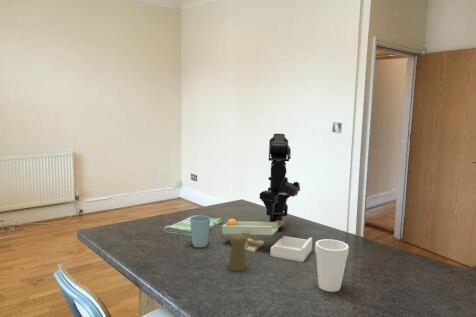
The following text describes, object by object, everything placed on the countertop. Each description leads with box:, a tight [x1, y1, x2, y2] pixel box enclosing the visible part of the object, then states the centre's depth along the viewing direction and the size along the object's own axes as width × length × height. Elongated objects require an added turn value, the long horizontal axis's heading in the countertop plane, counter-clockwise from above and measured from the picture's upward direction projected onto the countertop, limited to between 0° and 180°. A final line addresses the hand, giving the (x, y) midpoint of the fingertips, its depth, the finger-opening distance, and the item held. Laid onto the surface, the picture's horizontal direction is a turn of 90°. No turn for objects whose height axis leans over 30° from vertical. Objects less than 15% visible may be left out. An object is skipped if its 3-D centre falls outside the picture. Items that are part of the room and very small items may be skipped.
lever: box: [221, 219, 285, 236], centre depth 149 cm, size 16×20×3 cm
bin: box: [269, 235, 313, 263], centre depth 138 cm, size 12×12×5 cm
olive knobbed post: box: [227, 234, 247, 272], centre depth 125 cm, size 6×6×11 cm
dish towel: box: [163, 214, 224, 237], centre depth 166 cm, size 17×23×4 cm
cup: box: [190, 215, 212, 248], centre depth 144 cm, size 8×8×10 cm
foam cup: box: [314, 238, 350, 293], centre depth 113 cm, size 10×9×13 cm
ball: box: [226, 218, 238, 226], centre depth 147 cm, size 4×4×4 cm
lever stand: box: [242, 232, 265, 253], centre depth 145 cm, size 11×8×7 cm
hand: (276, 214), depth 149 cm, fingers open, 9 cm apart
